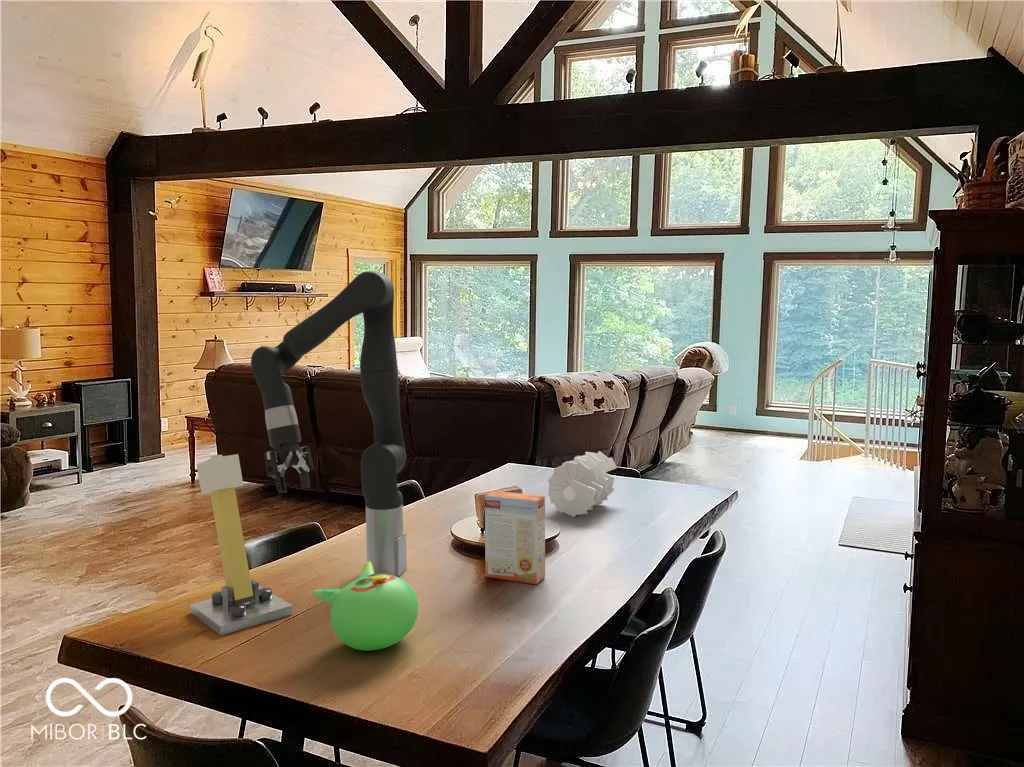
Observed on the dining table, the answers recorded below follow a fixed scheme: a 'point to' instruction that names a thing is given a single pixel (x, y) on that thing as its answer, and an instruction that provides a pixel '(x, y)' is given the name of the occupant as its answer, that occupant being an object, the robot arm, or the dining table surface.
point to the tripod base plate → (240, 623)
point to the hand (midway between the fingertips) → (294, 490)
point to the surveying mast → (227, 521)
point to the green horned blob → (371, 610)
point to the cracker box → (515, 536)
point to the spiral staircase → (581, 483)
